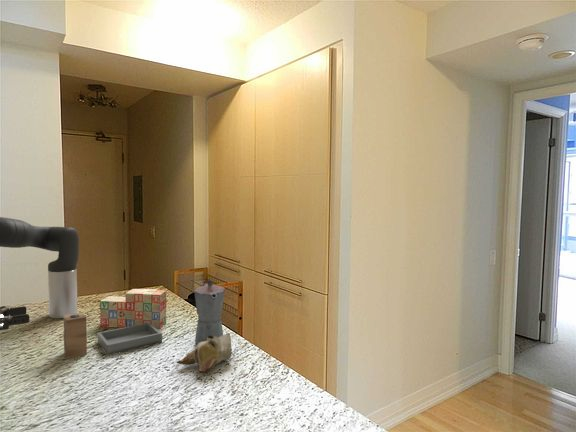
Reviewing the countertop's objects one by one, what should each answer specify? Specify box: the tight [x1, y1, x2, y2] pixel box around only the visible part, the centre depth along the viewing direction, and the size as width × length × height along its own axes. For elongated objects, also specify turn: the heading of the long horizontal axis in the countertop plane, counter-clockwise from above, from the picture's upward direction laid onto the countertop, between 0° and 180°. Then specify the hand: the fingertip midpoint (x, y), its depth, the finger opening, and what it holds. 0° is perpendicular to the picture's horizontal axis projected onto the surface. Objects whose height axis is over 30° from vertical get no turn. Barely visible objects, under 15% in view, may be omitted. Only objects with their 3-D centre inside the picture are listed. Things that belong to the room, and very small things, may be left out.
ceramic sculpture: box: [176, 332, 233, 375], centre depth 107 cm, size 11×9×15 cm
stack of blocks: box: [99, 288, 167, 330], centre depth 137 cm, size 21×6×12 cm, turn 88°
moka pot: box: [194, 280, 226, 345], centre depth 123 cm, size 10×15×20 cm, turn 27°
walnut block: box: [62, 312, 88, 359], centre depth 113 cm, size 5×5×11 cm
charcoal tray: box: [96, 323, 163, 356], centre depth 122 cm, size 12×16×3 cm
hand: (27, 313), depth 105 cm, fingers open, 8 cm apart
